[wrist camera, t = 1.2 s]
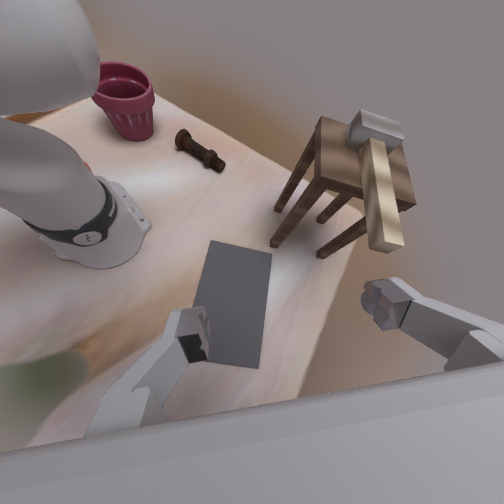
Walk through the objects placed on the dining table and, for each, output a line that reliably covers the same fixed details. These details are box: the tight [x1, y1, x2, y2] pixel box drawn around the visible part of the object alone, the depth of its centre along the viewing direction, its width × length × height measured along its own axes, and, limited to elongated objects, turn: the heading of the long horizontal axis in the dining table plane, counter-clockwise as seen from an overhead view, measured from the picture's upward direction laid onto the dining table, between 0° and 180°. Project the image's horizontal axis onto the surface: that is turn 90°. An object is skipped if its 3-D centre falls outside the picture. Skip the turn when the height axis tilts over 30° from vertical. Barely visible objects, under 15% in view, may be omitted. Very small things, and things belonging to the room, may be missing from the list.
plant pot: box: [91, 61, 155, 141], centre depth 50 cm, size 14×14×13 cm
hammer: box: [345, 109, 404, 253], centre depth 27 cm, size 22×7×4 cm, turn 171°
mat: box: [193, 240, 272, 369], centre depth 44 cm, size 26×16×1 cm, turn 171°
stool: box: [270, 116, 416, 259], centre depth 43 cm, size 14×16×26 cm
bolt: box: [175, 129, 226, 172], centre depth 55 cm, size 6×5×15 cm
